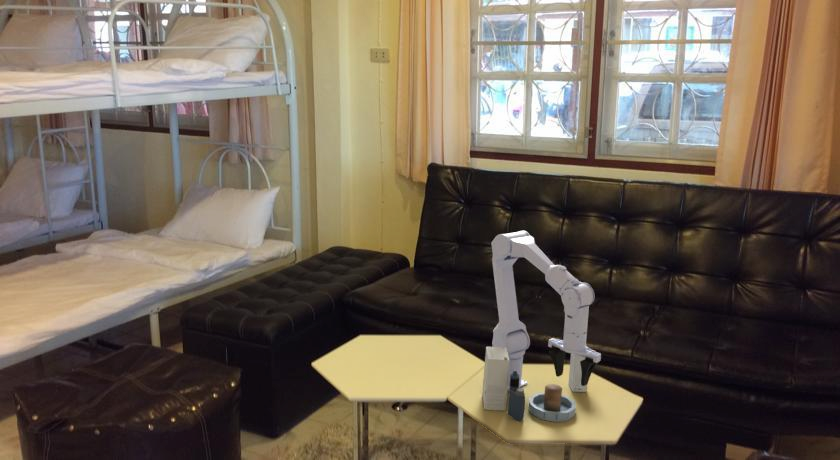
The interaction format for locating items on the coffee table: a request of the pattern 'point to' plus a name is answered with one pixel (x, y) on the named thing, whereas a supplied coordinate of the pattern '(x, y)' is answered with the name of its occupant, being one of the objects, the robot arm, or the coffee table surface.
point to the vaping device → (516, 398)
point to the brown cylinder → (552, 397)
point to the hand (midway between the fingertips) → (571, 379)
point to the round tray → (563, 415)
